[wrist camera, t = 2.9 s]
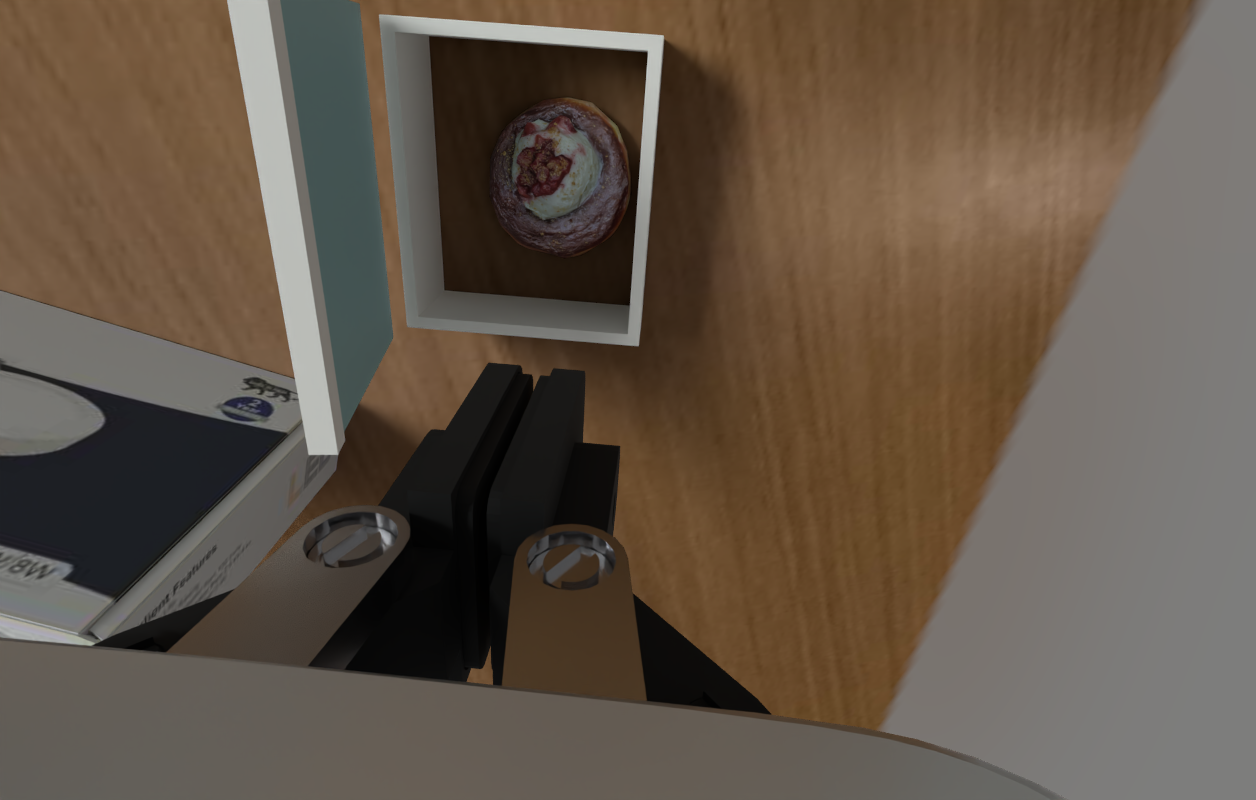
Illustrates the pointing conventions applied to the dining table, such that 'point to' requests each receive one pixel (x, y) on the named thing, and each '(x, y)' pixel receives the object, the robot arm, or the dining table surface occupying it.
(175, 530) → the packaging
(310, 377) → the lid
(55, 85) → the dining table surface
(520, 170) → the pastry
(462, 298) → the box
